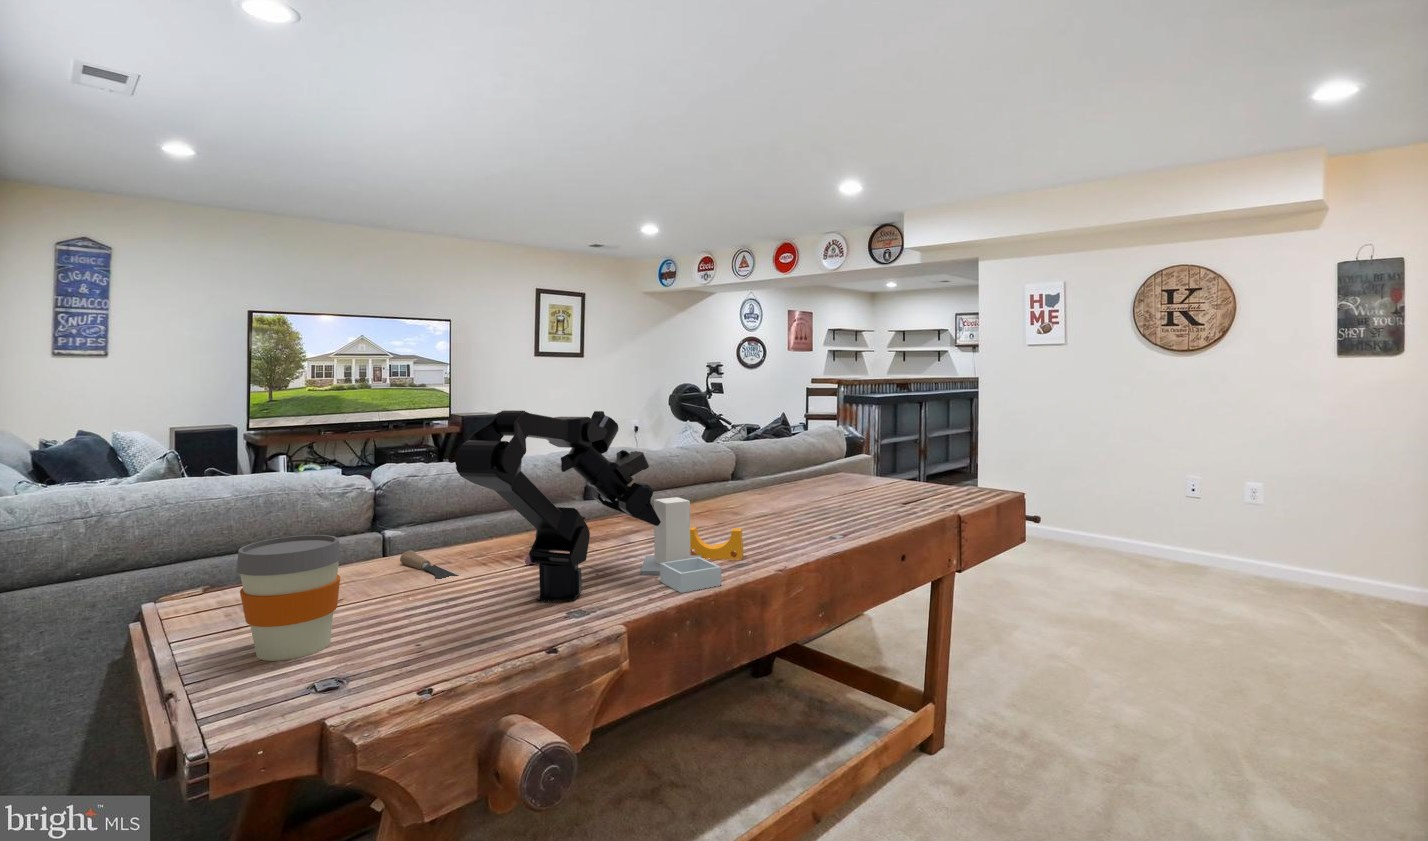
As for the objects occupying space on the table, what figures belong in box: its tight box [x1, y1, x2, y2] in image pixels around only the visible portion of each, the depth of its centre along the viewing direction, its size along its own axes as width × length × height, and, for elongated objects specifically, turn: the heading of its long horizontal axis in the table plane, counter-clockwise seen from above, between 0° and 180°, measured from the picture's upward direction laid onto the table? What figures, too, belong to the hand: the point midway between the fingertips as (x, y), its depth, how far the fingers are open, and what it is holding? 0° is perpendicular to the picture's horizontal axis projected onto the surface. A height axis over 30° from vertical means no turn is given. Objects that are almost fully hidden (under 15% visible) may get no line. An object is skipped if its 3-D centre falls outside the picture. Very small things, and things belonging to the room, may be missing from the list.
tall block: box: [653, 496, 691, 564], centre depth 135 cm, size 6×6×13 cm
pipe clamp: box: [690, 526, 744, 561], centre depth 143 cm, size 12×4×6 cm, turn 80°
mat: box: [639, 555, 702, 576], centre depth 135 cm, size 12×12×1 cm
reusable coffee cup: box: [236, 534, 342, 662], centre depth 94 cm, size 13×13×15 cm
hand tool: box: [399, 550, 460, 580], centre depth 132 cm, size 6×3×25 cm
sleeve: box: [659, 557, 722, 594], centre depth 123 cm, size 8×8×4 cm
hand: (649, 520), depth 132 cm, fingers open, 9 cm apart
